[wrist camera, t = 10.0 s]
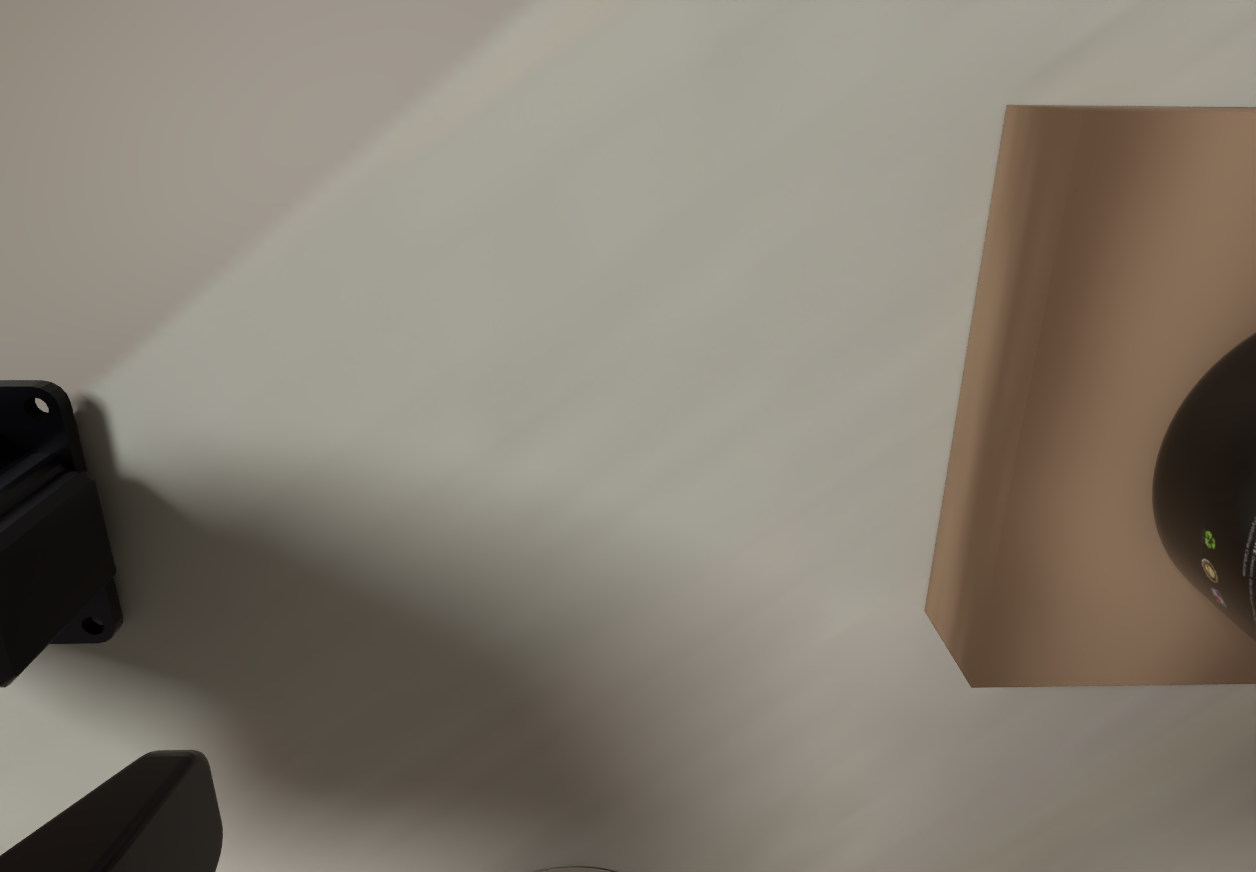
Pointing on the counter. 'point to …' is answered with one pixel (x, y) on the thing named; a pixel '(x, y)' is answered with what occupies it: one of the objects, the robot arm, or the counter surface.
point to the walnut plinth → (1092, 396)
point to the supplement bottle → (1213, 486)
